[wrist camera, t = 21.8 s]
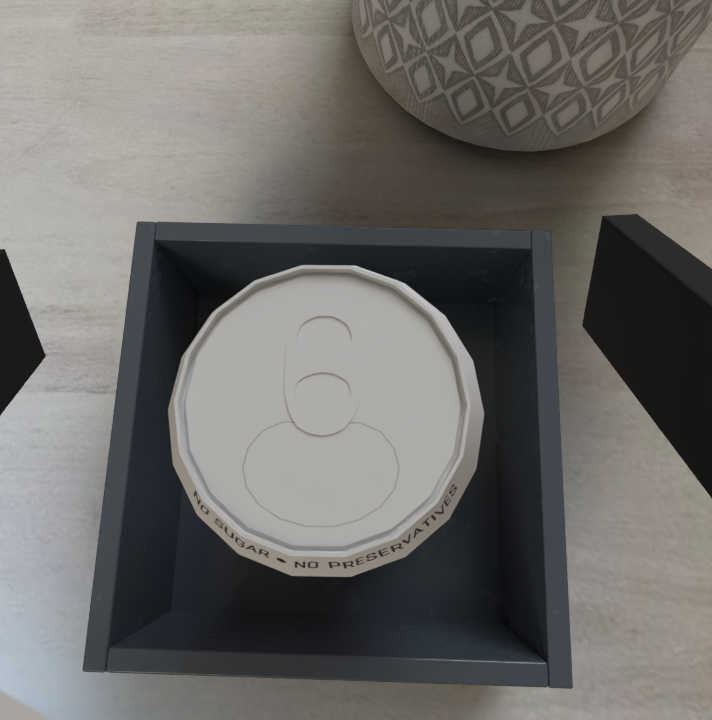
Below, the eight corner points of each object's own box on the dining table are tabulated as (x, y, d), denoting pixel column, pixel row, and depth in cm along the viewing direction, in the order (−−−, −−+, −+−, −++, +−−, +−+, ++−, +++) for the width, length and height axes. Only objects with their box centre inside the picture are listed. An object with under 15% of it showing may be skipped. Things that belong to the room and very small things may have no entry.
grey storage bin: (156, 624, 27) (81, 672, 20) (189, 286, 31) (136, 220, 24) (515, 636, 27) (573, 688, 20) (505, 294, 31) (551, 230, 23)
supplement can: (427, 538, 28) (504, 588, 13) (251, 535, 28) (130, 582, 13) (425, 368, 29) (491, 244, 15) (260, 366, 29) (162, 240, 15)
